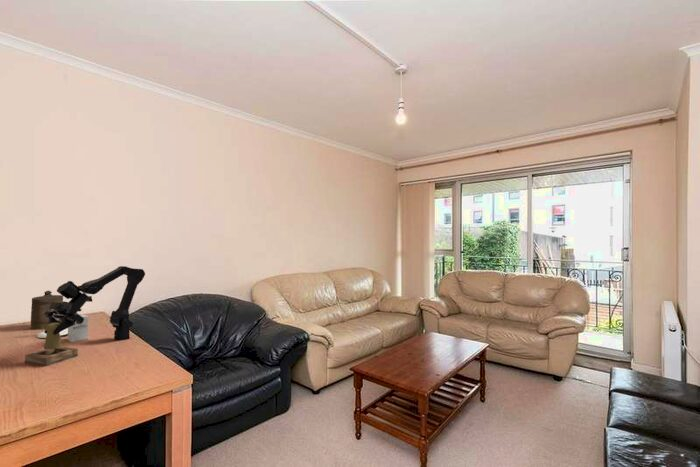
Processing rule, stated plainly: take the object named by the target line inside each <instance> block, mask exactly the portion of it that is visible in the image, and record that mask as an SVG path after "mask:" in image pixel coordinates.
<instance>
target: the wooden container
mask: <svg viewBox="0 0 700 467" xmlns="http://www.w3.org/2000/svg"><path fill="white" fill-rule="evenodd" d="M52 293H53V292H52V291H51V290H45V291H44V294H43V295H40V296H34V297H32V298H31V312H30V329H32V330H44V328H45V326H46V325H47V323H49V319H47V317H45V316H44V315H43V314H44V313H45V312H46V311H54V310H51V309H49V307H50V305H51V303H52V302H57V303H62V302H64V296H62V295H61V294H59V295H58V294H54V295H53V294H52ZM56 311H57V310H56ZM57 313H58V312H57ZM58 314H59V313H58ZM59 322H61V320H60V321H59Z"/></svg>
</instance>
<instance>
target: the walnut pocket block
mask: <svg viewBox="0 0 700 467" xmlns="http://www.w3.org/2000/svg"><path fill="white" fill-rule="evenodd" d="M78 356H79V350H78V348H75V347H68V346H61V347H59V348H55V349H42V350H39V351H35V352H31V353H29V354H25V355H24V363H25V364H29V365H36V366H41V367H49V366H51V365H54V364H58V363H61V362H63V361H66V360H69V359H73V358H76V357H78Z"/></svg>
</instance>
